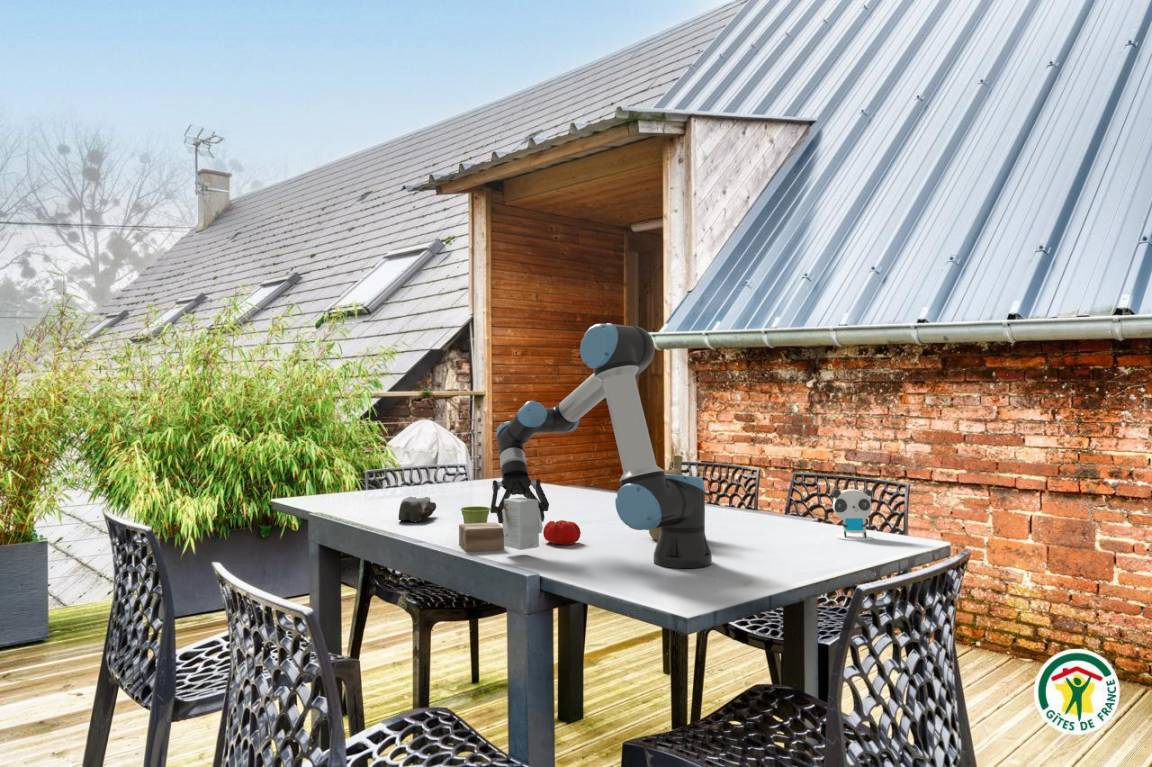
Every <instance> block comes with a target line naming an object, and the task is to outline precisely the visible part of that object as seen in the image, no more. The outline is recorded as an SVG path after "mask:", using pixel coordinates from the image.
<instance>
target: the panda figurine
mask: <svg viewBox="0 0 1152 767" xmlns="http://www.w3.org/2000/svg"><path fill="white" fill-rule="evenodd" d="M830 492H831V493H830V494H831V496H832V497H833V498H834V499H833V502H832V510H833V512H834V513H835V514H836V516H837V517H839V518H840V525H841V533H836V534H834V538H835V539H837V540H842V541H849V542H850V541H851V542H867V541H873V540H874V537H873V536H871V535H867V526H868V524H869V519H868V518H869V516H870V515H871V513H872V510H873V506H872V501H871V498H870V497H872V496H873V492H872V490H870V489H869V488H864V489H863V490H859V489H854V488H853V489H852V488H849V489H844V490H840V489H838V488H833V489H831V491H830Z"/></svg>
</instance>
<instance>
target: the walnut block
mask: <svg viewBox="0 0 1152 767" xmlns="http://www.w3.org/2000/svg"><path fill="white" fill-rule="evenodd" d="M458 546H461V547H462V548H463V549H464V550H465V551H467V552H466V553H469V552H468V551H472V552H482V551H481V550H489V551H498V550H497V549H504V550H505V546H504V533H503V526H502V525H500V524H499V523H498V522H497V523H496V522H493V521H492V522H487V523H473V524H464V523H461V524H459V525H458ZM461 547H460V548H461ZM462 548H461V549H462ZM463 549H462V550H463ZM494 549H496V550H494ZM464 550H463V551H464ZM465 551H464V552H465Z"/></svg>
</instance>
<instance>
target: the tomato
mask: <svg viewBox="0 0 1152 767" xmlns="http://www.w3.org/2000/svg"><path fill="white" fill-rule="evenodd" d="M542 534H543V538H544V539H545V541H547V542H549V543H553V544H555V545H563V546H569V545H572V544H574V543H576V542H578V541H579V540H580V537H581V529H580V527H579V524H577V523H576V522H573V521H567V520H564V519H560V520H558V521H557V520H556V521H554V520H550V521H548V522H547V523H546V524H545V525H544V527H543V529H542Z"/></svg>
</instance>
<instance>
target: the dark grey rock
mask: <svg viewBox="0 0 1152 767" xmlns="http://www.w3.org/2000/svg"><path fill="white" fill-rule="evenodd" d="M436 509H437V504H436V502H433V501H431V497H429V496H425V497H423V498H422V497H421V498H417V497H414V496H408V497H405V498H403V499H402V500H401V502H400V506H399V510H398V521H399V520H401V521H407V520H409V521H411V522H413V521H419V520H420V521H422V520H424V519H427V518H428V517H430V516H431V515H432V514H433V513H434V512H435V510H436ZM421 519H422V520H421ZM420 521H419V522H420Z"/></svg>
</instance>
